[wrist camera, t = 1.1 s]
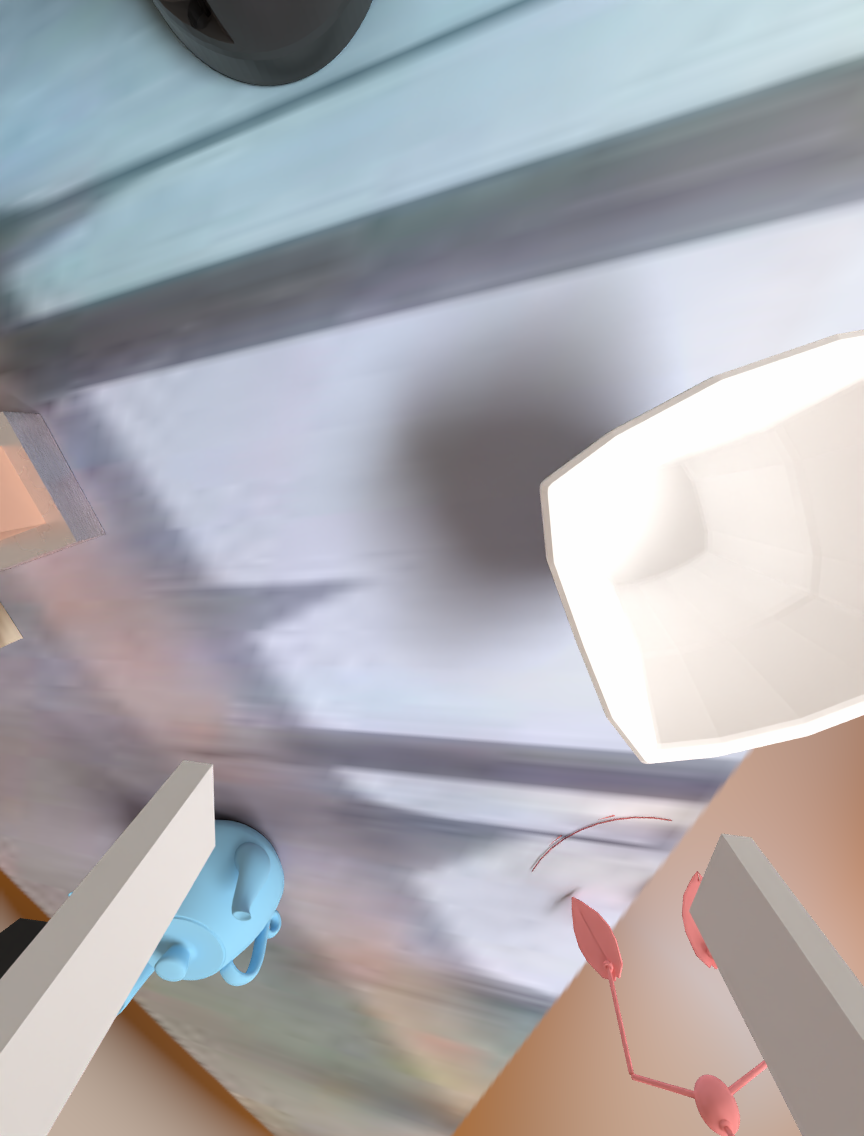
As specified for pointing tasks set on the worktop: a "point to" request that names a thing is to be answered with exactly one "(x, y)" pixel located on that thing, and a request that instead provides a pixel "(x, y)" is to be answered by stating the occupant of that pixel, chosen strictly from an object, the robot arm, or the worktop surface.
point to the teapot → (222, 912)
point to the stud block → (15, 502)
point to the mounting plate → (7, 629)
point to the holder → (44, 492)
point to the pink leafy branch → (607, 961)
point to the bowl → (722, 557)
